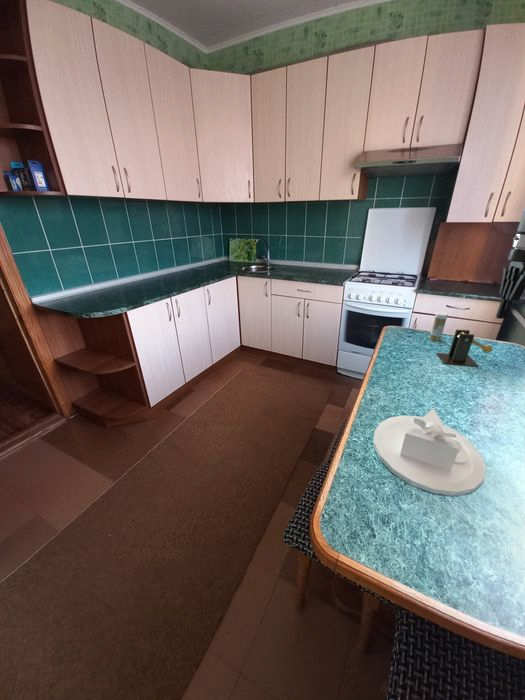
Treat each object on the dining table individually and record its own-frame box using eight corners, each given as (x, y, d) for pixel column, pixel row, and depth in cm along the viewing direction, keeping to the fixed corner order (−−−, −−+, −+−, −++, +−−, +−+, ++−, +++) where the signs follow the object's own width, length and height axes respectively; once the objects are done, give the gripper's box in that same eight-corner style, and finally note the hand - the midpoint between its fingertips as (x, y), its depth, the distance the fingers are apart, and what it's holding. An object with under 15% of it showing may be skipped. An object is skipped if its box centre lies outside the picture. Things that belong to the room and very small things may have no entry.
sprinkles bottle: (426, 339, 133) (434, 311, 127) (437, 339, 133) (444, 311, 127) (431, 343, 129) (439, 315, 123) (442, 343, 129) (450, 315, 123)
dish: (490, 514, 58) (511, 476, 53) (363, 467, 70) (370, 431, 64) (479, 437, 78) (494, 403, 72) (381, 409, 89) (387, 378, 83)
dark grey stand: (467, 358, 116) (477, 328, 111) (477, 369, 109) (488, 338, 103) (435, 355, 119) (443, 326, 113) (442, 366, 111) (451, 336, 105)
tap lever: (485, 352, 111) (492, 345, 110) (489, 356, 108) (496, 349, 107) (455, 336, 111) (461, 329, 109) (458, 340, 108) (465, 333, 107)
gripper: (502, 245, 99) (480, 311, 110) (524, 251, 88) (498, 324, 98) (527, 245, 97) (503, 312, 108) (553, 251, 86) (523, 325, 97)
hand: (501, 317), depth 103 cm, fingers closed
